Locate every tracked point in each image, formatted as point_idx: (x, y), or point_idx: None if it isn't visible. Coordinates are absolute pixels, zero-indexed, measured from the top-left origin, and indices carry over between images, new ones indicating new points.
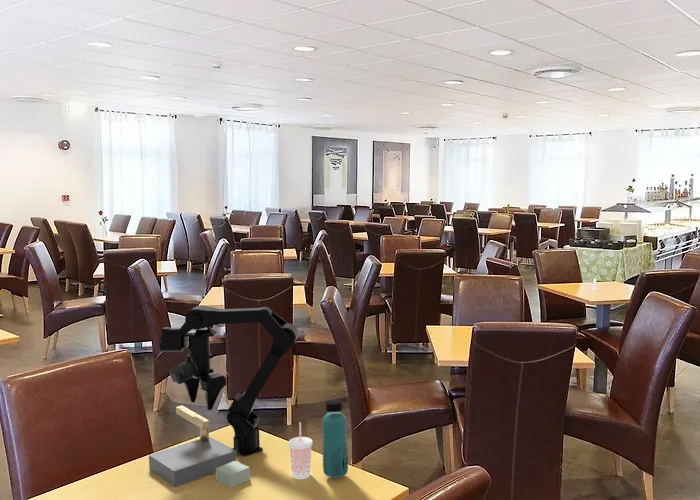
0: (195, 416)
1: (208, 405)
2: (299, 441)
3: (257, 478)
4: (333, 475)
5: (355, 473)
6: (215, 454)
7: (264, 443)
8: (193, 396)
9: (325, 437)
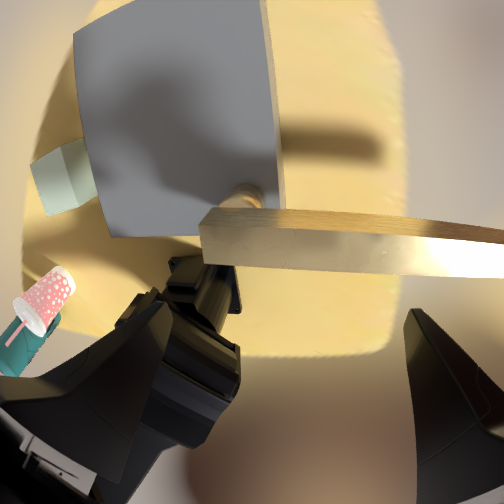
0: (328, 245)
1: (127, 321)
2: (23, 316)
3: (66, 218)
4: None
5: (62, 322)
6: (108, 174)
7: (226, 329)
8: (416, 354)
9: (5, 332)
